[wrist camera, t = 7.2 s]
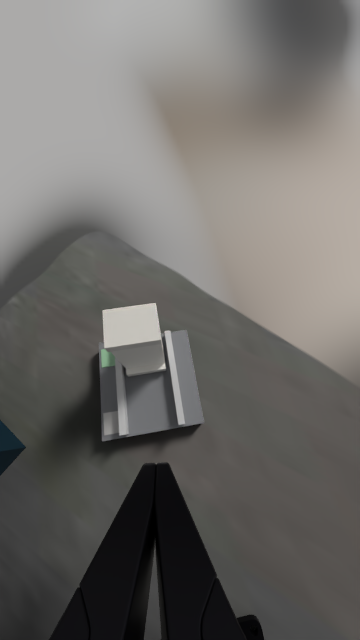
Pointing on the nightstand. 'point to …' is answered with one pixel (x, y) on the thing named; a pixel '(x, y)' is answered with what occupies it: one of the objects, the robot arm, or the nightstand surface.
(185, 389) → the breaker panel
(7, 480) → the nightstand surface
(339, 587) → the nightstand surface
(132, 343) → the handle
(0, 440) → the watch
